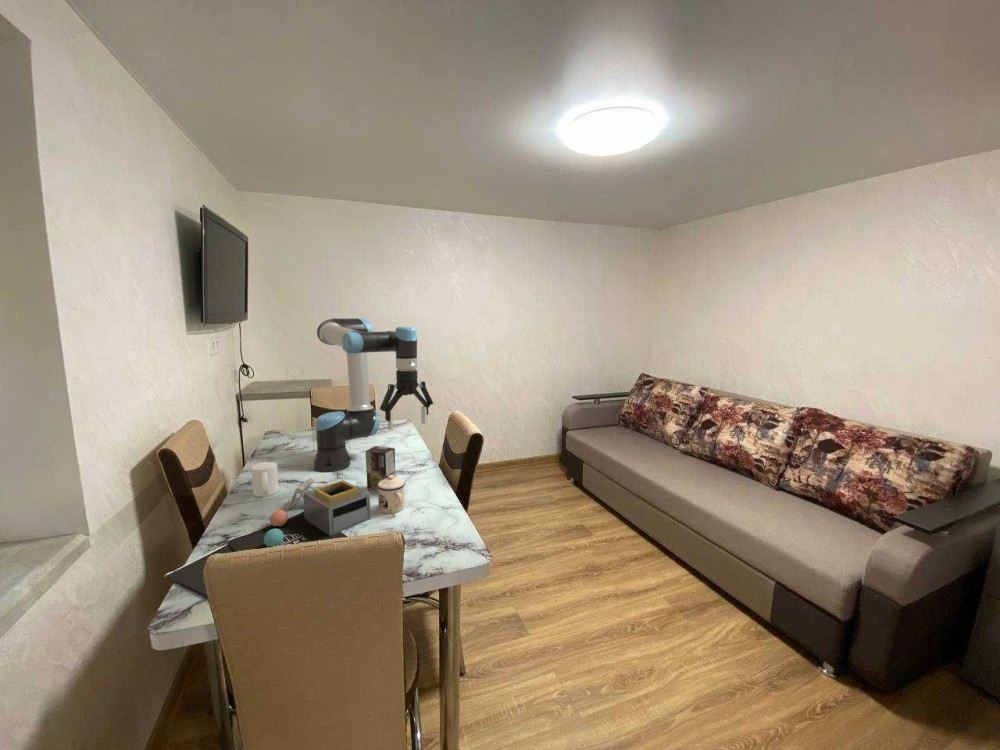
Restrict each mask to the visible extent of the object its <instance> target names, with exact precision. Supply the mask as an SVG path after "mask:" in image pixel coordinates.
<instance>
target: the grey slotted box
mask: <svg viewBox="0 0 1000 750" xmlns="http://www.w3.org/2000/svg"><path fill="white" fill-rule="evenodd" d="M303 499H304V500H303ZM302 500H303V514H304V519H305V518H306V519H308V520H309V521H310V522H312V523H313V524H314V525H316V526H317V527H318V528H319V529H318V528H317V527H316V528H317V529H318V530H320V529H321V530H322V531H321V530H320V531H321V532H323V533H324V532H325V533H324V534H326V533H327V534H328V535H327V534H326V535H327V536H329V535H330V536H329V537H331V535H332V536H334V535H336V534H339V533H341V532H343V531H346V530H348V529H351V528H353V527H355V526H359V525H360V524H362V523H365V522H367V521H369V520H371V519H372V517H371V515H372V514H371V493H370V492H369V491H367V490H364V489H363V488H361V487H358V486H356V485H354V484H352V483H350V482H348V481H345V480H339V481H336V482H334V483H330V484H327V485H324V486H321V487H317V488H314V489H312V490H309V491H308V492H305V493H303V498H302ZM314 525H313V526H314Z"/></svg>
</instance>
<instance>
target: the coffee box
mask: <svg viewBox="0 0 1000 750" xmlns="http://www.w3.org/2000/svg"><path fill="white" fill-rule="evenodd" d="M395 451H396V448H395V447H385V446H377V445H374V446H372V447H370V448H369V449H367V450H365V468H366V469H365V470H366V472H365V473H366V487H367V489H366V491H367V492H369V493H370V492H371V493H375V494H376V493H377V494H378V487H377V486H378V483H379V482H380V481H382V480H384V479H387V478H388V476H389V475H393V476H394V477H395V478H397V477H396V452H395Z"/></svg>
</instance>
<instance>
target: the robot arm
mask: <svg viewBox="0 0 1000 750" xmlns="http://www.w3.org/2000/svg"><path fill="white" fill-rule="evenodd" d="M417 333H418V332H417V328H415V326H397V327H396V328H395V331H394V330H388V331H387V330H386V331H374V328H373V326H372V323H371V322H370V321H369V320H368V319H366V318H337V317H336V318H335V317H334V318H329V319H326V320H324V321H323V322H321V323H320V324H319V325H318V326H317V329H316V335H317V338H318V340H319V341H320V342H321V343H323V344H324V345H327V346H338V347H341V348H342V350H343V351H344V352H345V353H346V361H347V362H346V363H347V378H348V389H349V390H348V392H349V402H350V403H349V404H350V405H349V406H348V407H347V408H346V414H345V412H344V411H339V410H338V411H331V412H330V411H329V412H327V413H323V414H321V415H319V416H318V417H316V420H315V432H316V435H315V436H316V447H317V448H316V450H317V451H316V454H315V457H314V459H313V469H314V470H315V471H317V472H321V473H322V472H323V473H330V472H337V471H341V470H345V469H346V468H349V467H350V466H351V464H352V462H351V457H350V455H349V452H348V450H347V445H346V442H347V441H351V440H356V439H361V438H368V437H371V436H372V437H373V436H374V435H376V434H377V433H378V431H379V429H380V423H381V422H380V421H381V419H380V415H379V412H378V411H377V410H375V407H374V406H373V405H372V404H371V395H370V381H369V368H368V353H383V352H384V353H387V352H392V353H393V352H394V353H395V367H396V371H395V372H396V373H395V375H396V376H395V380H396V383H395V384H392V383H388V384H387V391H386V393H385V396H384V398H383V400H382V403H381V404H380V407H379V410H380V411H383V412H385V413H384V414H385V417H384V418H385V421H387V429H388V430H390V431H393V430H394V412H393V411H392V410H393V409H394V407H395V406H396V404H397V403H398V401H400V399H401V398H402V397H403V396H412V395H414V396H415V398H416V399H417V400H418V401H419V402H420V403H421V404H422V406H420V409H421V411H420V412H421V413H420V414H421V423H422V424H423V425H427V423H428V422H427V421H428V420H427V419H428V418H427V417H428V415H429V408H430V407H431V405H433V404H434V401H433V400H432V397H431V395H430V393H429V391H428V389H427V387H426V382H425V381H424V380H419V381H418V370H417V369H418V335H417ZM418 387H419V389H420V391H421V393H422V394H423V395H422V394H420V391H418ZM395 390H396V391H395ZM394 391H395V394H394Z"/></svg>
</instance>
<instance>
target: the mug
mask: <svg viewBox="0 0 1000 750" xmlns="http://www.w3.org/2000/svg"><path fill="white" fill-rule="evenodd" d="M250 469H251V484H252V495H253V496H254V497H269V496H271V495H274V494H277V493H278V492H279V479H278V478H279V476H278V475H279V474H278V463H276V462H273V461H264V462H260V463H257V464H254V465H252V466H251V468H250Z"/></svg>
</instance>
